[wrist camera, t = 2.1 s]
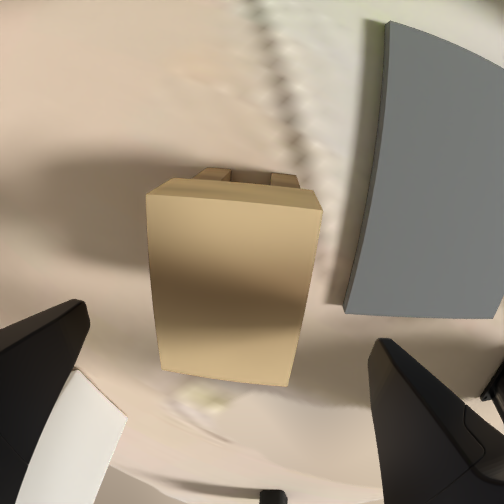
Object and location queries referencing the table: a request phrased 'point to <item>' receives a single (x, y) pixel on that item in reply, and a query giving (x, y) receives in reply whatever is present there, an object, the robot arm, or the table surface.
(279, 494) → the walkie-talkie
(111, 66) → the table surface
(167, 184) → the oak stool
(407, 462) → the robot arm
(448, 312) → the grey rectangular board
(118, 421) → the milk carton
